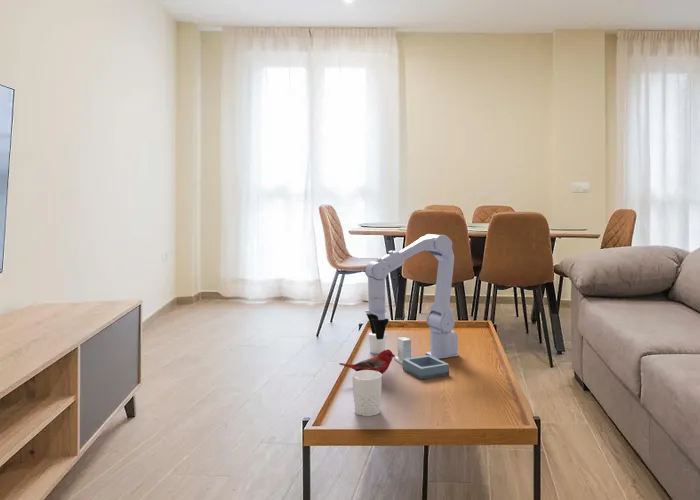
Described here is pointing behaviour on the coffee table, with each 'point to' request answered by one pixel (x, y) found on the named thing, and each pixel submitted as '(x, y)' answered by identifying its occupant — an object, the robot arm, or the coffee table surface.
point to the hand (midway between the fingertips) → (377, 336)
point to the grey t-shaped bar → (403, 349)
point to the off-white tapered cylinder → (376, 343)
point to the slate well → (425, 367)
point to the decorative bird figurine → (374, 363)
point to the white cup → (367, 392)
